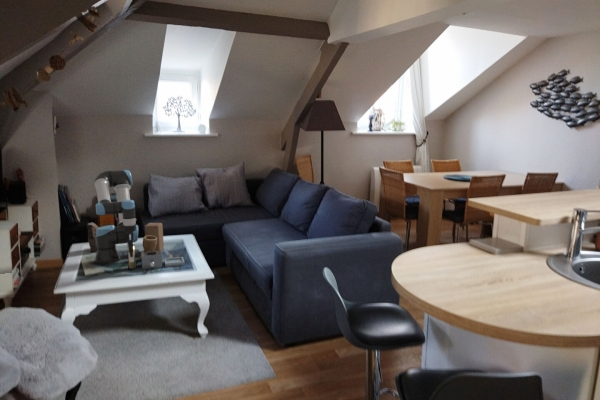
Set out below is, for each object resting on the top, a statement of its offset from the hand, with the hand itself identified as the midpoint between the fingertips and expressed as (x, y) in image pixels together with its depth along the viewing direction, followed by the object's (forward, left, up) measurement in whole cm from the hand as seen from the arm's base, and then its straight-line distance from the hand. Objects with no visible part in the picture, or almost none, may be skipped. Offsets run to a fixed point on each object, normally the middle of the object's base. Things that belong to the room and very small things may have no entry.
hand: (131, 260), depth 291 cm
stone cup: (+11, +21, -5) cm, 24 cm away
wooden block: (+15, +35, -5) cm, 38 cm away
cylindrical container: (0, 0, -5) cm, 5 cm away
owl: (-24, +52, -5) cm, 57 cm away
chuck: (+12, -3, -5) cm, 13 cm away
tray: (+26, 0, -5) cm, 26 cm away
